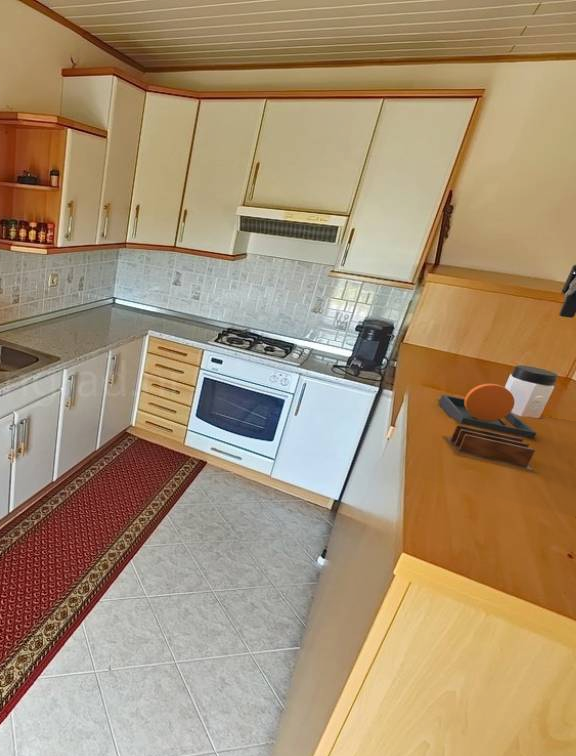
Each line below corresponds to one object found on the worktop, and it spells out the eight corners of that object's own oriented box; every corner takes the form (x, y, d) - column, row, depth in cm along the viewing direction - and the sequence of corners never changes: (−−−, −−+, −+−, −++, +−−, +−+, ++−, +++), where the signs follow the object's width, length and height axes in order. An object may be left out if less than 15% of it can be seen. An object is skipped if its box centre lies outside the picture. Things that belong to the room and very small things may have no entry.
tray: (501, 416, 123) (505, 406, 122) (531, 443, 108) (536, 433, 107) (438, 403, 128) (442, 394, 127) (458, 427, 113) (463, 417, 112)
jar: (511, 418, 122) (532, 373, 118) (486, 406, 130) (505, 363, 126) (547, 422, 122) (569, 377, 118) (520, 409, 130) (540, 367, 126)
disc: (503, 422, 117) (518, 387, 114) (506, 425, 115) (521, 389, 112) (458, 414, 120) (471, 380, 117) (460, 416, 119) (473, 381, 116)
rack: (512, 456, 100) (522, 436, 99) (531, 476, 92) (542, 454, 91) (443, 440, 104) (451, 421, 103) (456, 458, 97) (465, 437, 95)
